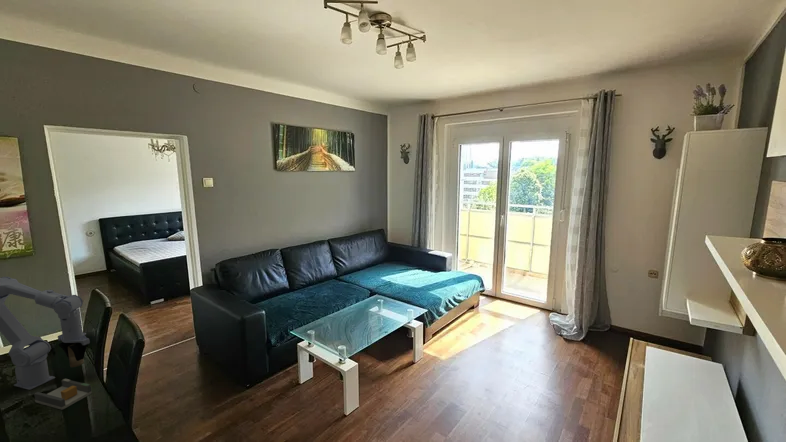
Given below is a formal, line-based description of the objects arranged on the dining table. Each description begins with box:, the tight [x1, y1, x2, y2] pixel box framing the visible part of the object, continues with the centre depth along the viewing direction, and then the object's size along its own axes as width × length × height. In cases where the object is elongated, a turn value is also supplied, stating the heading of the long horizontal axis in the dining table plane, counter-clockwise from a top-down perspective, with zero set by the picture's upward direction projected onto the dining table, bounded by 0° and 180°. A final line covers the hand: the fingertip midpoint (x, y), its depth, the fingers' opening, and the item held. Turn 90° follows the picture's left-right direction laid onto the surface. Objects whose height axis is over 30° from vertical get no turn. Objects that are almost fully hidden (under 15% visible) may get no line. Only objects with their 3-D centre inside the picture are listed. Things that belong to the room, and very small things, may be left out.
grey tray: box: [33, 378, 93, 410], centre depth 121 cm, size 14×9×4 cm, turn 75°
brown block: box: [68, 344, 85, 368], centre depth 131 cm, size 4×4×8 cm
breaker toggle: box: [61, 386, 77, 400], centre depth 120 cm, size 2×4×3 cm, turn 165°
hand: (76, 358), depth 131 cm, fingers closed on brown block, 4 cm apart
